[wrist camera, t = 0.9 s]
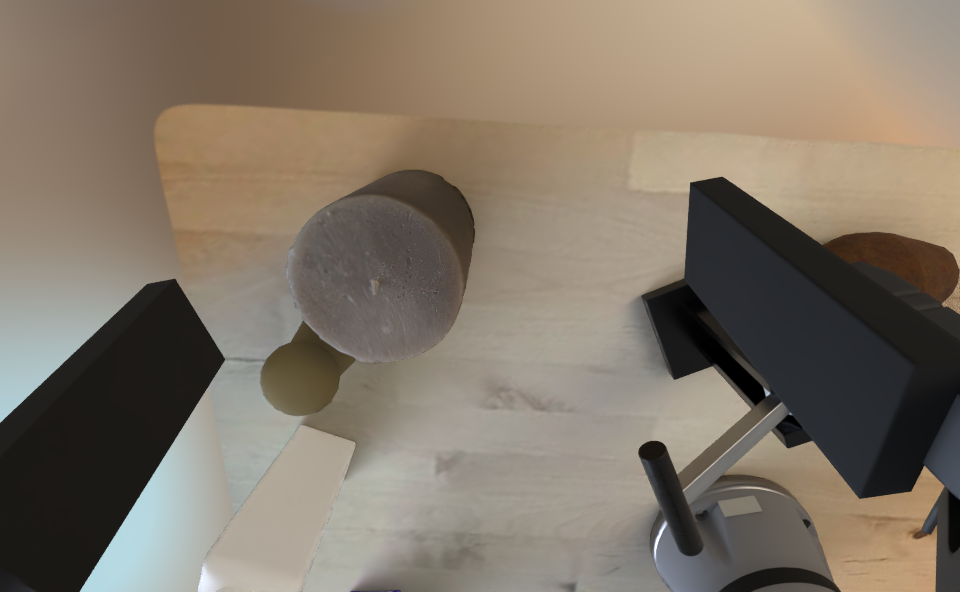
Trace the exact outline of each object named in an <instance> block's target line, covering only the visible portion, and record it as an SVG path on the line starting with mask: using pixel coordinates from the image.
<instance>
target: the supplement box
mask: <svg viewBox="0 0 960 592" xmlns="http://www.w3.org/2000/svg"><path fill="white" fill-rule="evenodd" d="M351 592H360V591H351ZM367 592H401V591H400V590H396V591H367Z"/></svg>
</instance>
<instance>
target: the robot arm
mask: <svg viewBox="0 0 960 592" xmlns="http://www.w3.org/2000/svg"><path fill="white" fill-rule="evenodd" d="M684 280H685V281H686V282H687V283H688V285H689V286H690V287H691V288H692V290H693V291H694V292H695V293H696V295H697V296H698V297H699V298H700V300H701V301H702V302H703V303H704V305H705V306H706V307H707V308H708V310H709V311H710V312H711V313H712V315H713V316H714V317H715V318H716V320H717V321H718V322H719V323H720V325H721V326H722V327H723V328H724V330H725V331H726V332H727V333H728V335H729V336H730V337H731V338H732V340H733V341H734V342H735V344H736V345H737V346H738V347H739V349H740V350H741V351H742V352H743V354H744V355H745V356H746V357H747V359H748V360H749V361H750V362H751V364H752V365H753V366H754V367H755V369H756V370H757V371H758V372H759V374H760V375H761V376H762V377H763V379H764V380H765V381H766V382H767V384H768V385H769V386H770V387H771V389H772V390H773V391H774V392H775V394H776V395H777V396H778V397H779V399H780V400H781V401H782V402H783V404H784V405H785V406H786V407H787V409H788V410H789V411H790V412H791V414H792V415H793V416H794V417H795V419H796V420H797V421H798V422H799V424H800V425H801V426H802V427H803V429H804V430H805V431H806V432H807V434H808V435H809V436H810V437H811V439H812V440H813V441H814V443H815V444H816V445H817V446H818V448H819V449H820V450H821V451H822V453H823V454H824V455H825V456H826V458H827V459H828V460H829V461H830V463H831V464H832V465H833V466H834V468H835V469H836V470H837V471H838V473H839V474H840V475H841V476H842V478H843V479H844V480H845V481H846V483H847V484H848V485H849V486H850V488H851V489H852V490H853V491H854V493H855V494H856V495H857V496H858V498H859V499H862V498H869V497H876V496H883V495H890V494H897V493H904V492H911V491H912V489H913V487H914V485H915V483H916V481H917V479H918V477H919V475H920V473H921V471H922V469H923V467H924V465H925V466H926V467H927V468H928V469H929V470H930V472H931V473H932V474H933V475H934V476H935V477H936V478H937V479H938V480H939V481H940V482H941V483H942V484H943V485H944V486H945V487H944V489H943V491H942V492H941V494H940V496H939V498H938V499H937V501H936V503H935V505H934V506H933V508H932V510H931V512H930V513H929V515H928V517H927V519H926V520H925V523H924V525H923V527H922V530H921V531H923V532H925V533H928V534H930V535H931V533H932V532H933V530H934V528H935V527H936V525H937V556H936V592H960V314H958V313H957V312H955V311H953V310H952V309H950V308H949V307H943V306H942V303H941V302H939V301H938V300H936V299H935V298H933V297H932V296H930V295H928V294H927V293H921V292H920V289H919V288H917V287H916V286H914V285H913V284H911V283H910V282H908V281H906V280H905V279H903V278H902V277H900V276H899V275H897V274H895V273H893V272H891V271H888V270H885V269H882V268H879V267H877V266H874V265H871V264H868V263H865V262H863V261H859V262H854V263H847V262H846V261H844V260H843V259H841V258H840V257H839V256H837V255H836V254H834V253H833V252H831V251H830V250H828V249H827V248H825V247H824V246H823V245H821V244H820V243H818V242H817V241H815V240H814V239H812V238H811V237H809V236H808V235H807V234H805V233H804V232H802V231H801V230H799V229H798V228H796V227H795V226H794V225H792V224H791V223H789V222H788V221H786V220H785V219H783V218H782V217H780V216H779V215H778V214H776V213H775V212H773V211H772V210H770V209H769V208H767V207H766V206H764V205H763V204H762V203H760V202H759V201H757V200H756V199H754V198H753V197H751V196H750V195H749V194H747V193H746V192H744V191H743V190H741V189H740V188H738V187H737V186H735V185H734V184H733V183H731V182H730V181H728V180H727V179H725V178H724V177H718V178H713V179H707V180H702V181H696V182H691V183H690V195H689V212H688V228H687V244H686V260H685V276H684ZM224 361H225V358H224V357H223V355H222V353H221V352H220V350H219V349H218V347H217V345H216V344H215V342H214V341H213V339H212V337H211V336H210V334H209V332H208V331H207V329H206V328H205V326H204V324H203V323H202V321H201V320H200V318H199V316H198V315H197V313H196V312H195V310H194V308H193V307H192V305H191V304H190V302H189V300H188V299H187V297H186V295H185V294H184V292H183V291H182V289H181V287H180V286H179V284H178V283H177V281H176V279H171V280H167V281H161V282H155V283H150V284H147V285H146V286H145V287H143V288H142V290H140V291H139V292H138V293H137V294H136V295H135V296H134V297H133V298H132V299H131V300H130V301H129V302H128V303H127V304H125V305H124V307H122V308H121V309H120V310H119V311H118V312H117V313H116V314H115V315H114V316H113V317H112V318H111V319H110V320H109V321H108V322H106V323H105V324H104V325H103V326H102V327H101V328H100V329H99V330H98V331H97V332H96V333H95V334H94V335H93V336H92V337H91V338H90V339H89V340H87V341H86V342H85V343H84V344H83V345H82V346H81V347H80V348H79V349H78V350H77V351H76V352H75V353H74V354H73V355H72V356H70V357H69V358H68V359H67V360H66V361H65V362H64V363H63V364H62V365H61V366H60V367H59V368H58V369H57V370H56V371H55V372H54V373H52V374H51V375H50V376H49V377H48V378H47V379H46V380H45V381H44V382H43V383H42V384H41V385H40V386H39V387H38V388H37V389H36V390H34V391H33V392H32V393H31V394H30V395H29V396H28V397H27V398H26V399H25V400H24V401H23V402H22V403H21V404H20V405H19V406H18V407H17V408H15V409H14V410H13V411H12V412H11V413H10V414H9V415H8V416H7V417H6V418H5V419H4V420H3V421H2V422H1V423H0V592H80V590H81V588H82V587H83V585H84V584H85V582H86V580H87V579H88V577H89V576H90V574H91V573H92V571H93V569H94V568H95V566H96V564H97V563H98V561H99V560H100V558H101V557H102V555H103V553H104V552H105V550H106V549H107V547H108V545H109V544H110V542H111V541H112V539H113V537H114V536H115V534H116V533H117V531H118V530H119V528H120V526H121V525H122V523H123V522H124V520H125V518H126V517H127V515H128V514H129V512H130V510H131V509H132V507H133V506H134V504H135V502H136V501H137V499H138V498H139V496H140V494H141V493H142V491H143V489H144V488H145V486H146V485H147V483H148V481H149V480H150V478H151V477H152V475H153V474H154V472H155V471H156V469H157V467H158V466H159V464H160V462H161V461H162V459H163V458H164V456H165V455H166V453H167V451H168V450H169V448H170V447H171V445H172V443H173V442H174V440H175V438H176V437H177V436H178V434H179V432H180V431H181V429H182V428H183V426H184V424H185V423H186V421H187V420H188V418H189V416H190V415H191V413H192V412H193V410H194V408H195V407H196V405H197V404H198V402H199V400H200V399H201V397H202V396H203V394H204V393H205V391H206V389H207V388H208V386H209V385H210V383H211V381H212V380H213V378H214V377H215V375H216V373H217V372H218V370H219V369H220V367H221V365H222V364H223V362H224ZM689 507H690V509H691V512H692V515H693V517H694V520H695V522H696V525H697V527H698V530H699V533H700V535H701V538H702V540H703V543H704V547H703V550H702V552H701V553H700V554H698V555H696V556H686V555H683V554H682V553H681V552H680V551H679V550H678V548H677V546H676V544H675V541H674V539H673V536H672V534H671V532H670V529H669V527H668V524H667V522H666V520H665V517H664V515H663V512H662V511H661V512H660V513H659V515H658V517H657V518H656V520H655V522H654V524H653V527H652V531H651V535H650V548H651V553H652V556H653V559H654V562H655V565H656V567H657V570H658V572H659V575H660V577H661V578H662V580H663V581H664V582H665V584H666V585H667V586H668V588H669V589H670V590H671V591H672V592H841V591H840V590H839V588H838V587H837V585H836V584H835V583H834V581H833V578H832V575H831V572H830V569H829V566H828V563H827V561H826V558H825V555H824V552H823V549H822V546H821V544H820V541H819V539H818V535H817V532H816V529H815V527H814V524H813V522H812V520H811V518H810V516H809V515H808V513H807V512H806V511H805V509H804V508H803V507H802V506H801V504H800V503H799V502H798V501H797V500H796V498H795V497H794V496H793V495H792V494H791V493H790V492H789V491H787V490H786V489H785V488H783V487H782V486H780V485H778V484H776V483H774V482H772V481H769V480H766V479H763V478H758V477H752V476H741V475H739V476H724V477H719V478H718V479H717V480H716V481H715V482H714V483H713V484H712V485H711V486H709V487H708V488H707V489H706V490H705V491H704V492H703V493H702V494H701V495H700V496H698V497H697V498H696V499H695V500H694V501H693V502H692V503H691V504H690V505H689Z"/></svg>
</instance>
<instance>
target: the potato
mask: <svg viewBox="0 0 960 592" xmlns="http://www.w3.org/2000/svg"><path fill="white" fill-rule="evenodd" d="M823 246H824V247H825V248H827V249H828V250H830V251H831V252H833V253H834V254H836V255H837V256H839V257H840V258H841V259H843V260H844V261H846V262H847V263H854V262H859V261H863V262H865V263H868V264H871V265H874V266H877V267H879V268H882V269H885V270H888V271H891V272H893V273H895V274H897V275H899V276H900V277H902V278H903V279H905V280H906V281H908V282H910V283H911V284H913V285H914V286H916V287H917V288H919V289H920V292H921V293H927V294H928V295H930V296H932V297H933V298H935V299H936V300H938V301H939V302H941V303H943V302H944V301H945V300H946V299H947V298H948V297H949V296H950V295H951V294H952V293H953V291H954V289H955V287H956V285H957V283H958V279H959V268H958V265H957V262H956V260H955V258H954V255H953V254H952V253H951V252H949V251H948V250H947V249H945V248H944V247H941V246H937V245H934V244H931V243H927V242H924V241H920V240H916V239H911V238H907V237H903V236H899V235H896V234H891V233H881V232H871V233H855V234H849V235H844V236H841V237H839V238H836V239H834V240H832V241H830V242H828V243H827V244H825V245H823Z"/></svg>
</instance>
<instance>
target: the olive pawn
mask: <svg viewBox="0 0 960 592" xmlns="http://www.w3.org/2000/svg"><path fill="white" fill-rule="evenodd" d="M355 360H356V359H355V357H353V356H350V355H348V354H345V353H343V352H340V351H338V350H337V349H336V348H334V347H333V346H331V345H329V344H328V343H327V342H325V341H324V340H322V339H320V338H319V335H318V334H317V333H316V332H314V331H313V330H312V329H311V327H310V326H309V325H308V324H306V323H305V322H304V321H303V322H302V324H301V326H300V327H299V329H298V331H297V332H296V334H295V336H294V338H293V339H292V341H291V343H288V344H286V345H283V346H281V347H279V348H278V349H276V350H275V351H274V352H273V353H272V354H271V355H270V356H269V357H268V358H267V360H266V362H265V364H264V366H263V368H262V370H261V376H260V383H261V387H262V391H263V395H264V396H265V398H266V399H267V401H268V402H269V403H270V404H271V405H272V406H273V407H274V408H275V409H277V410H279V411H281V412H283V413H285V414H288V415H293V416H305V415H311V414H313V413H316V412H319V411H320V410H322V409H323V408H324V407H325V406H327V405H328V404H329V403H330V402H331V401H332V399H333V397H334V396H335V394H336V392H337V390H338V388H339V382H340V376H341V375H342V374H343V373H344V372H345V371H346V370H347V369H348V368H349V367H350V366H351V365H352V364H353V363H354V362H355Z"/></svg>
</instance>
